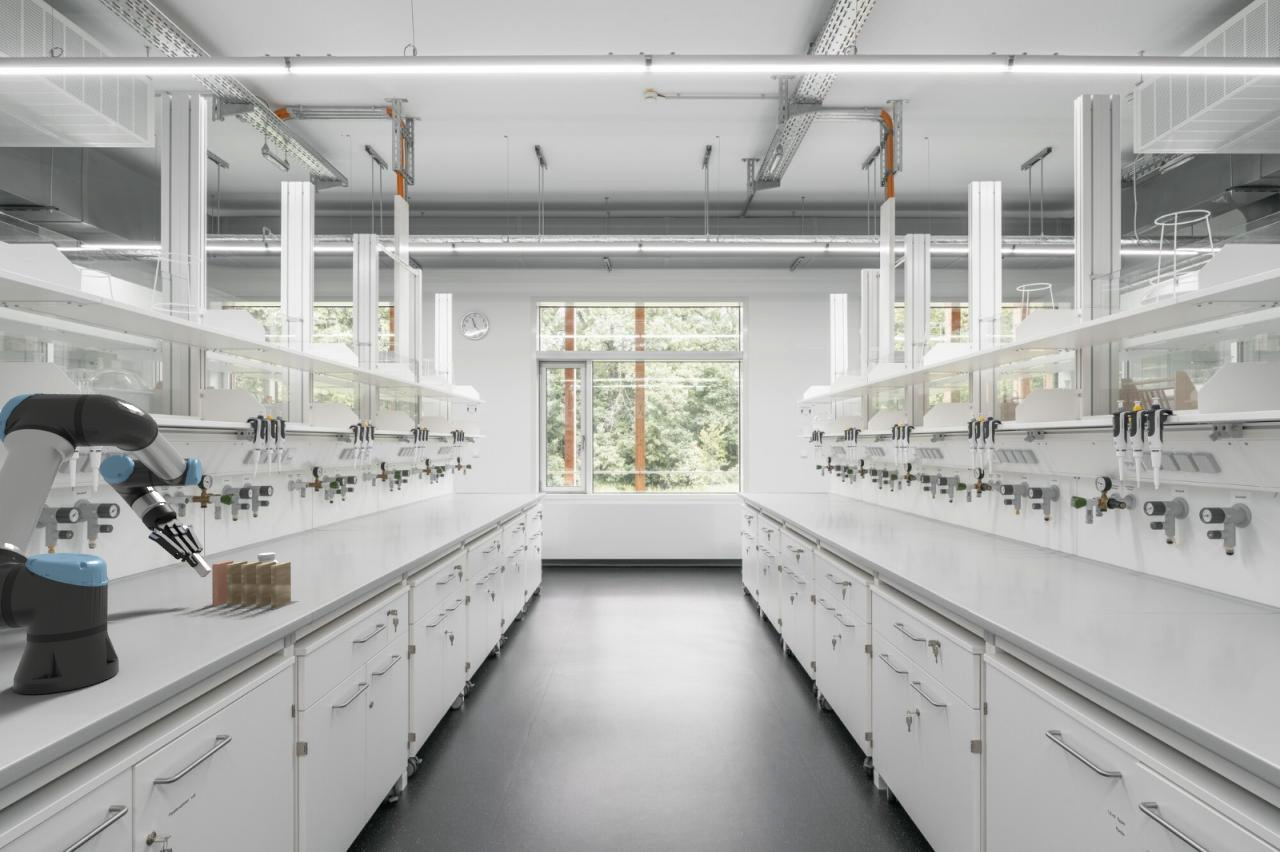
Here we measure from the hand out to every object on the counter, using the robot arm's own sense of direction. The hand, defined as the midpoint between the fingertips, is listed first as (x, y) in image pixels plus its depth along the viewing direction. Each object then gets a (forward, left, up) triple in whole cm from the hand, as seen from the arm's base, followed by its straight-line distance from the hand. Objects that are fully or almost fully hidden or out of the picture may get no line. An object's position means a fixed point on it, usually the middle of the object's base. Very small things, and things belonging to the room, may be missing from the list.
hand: (206, 573), depth 189 cm
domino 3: (+4, -14, -8) cm, 16 cm away
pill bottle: (+17, 0, -8) cm, 19 cm away
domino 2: (+3, -9, -8) cm, 13 cm away
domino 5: (+7, -22, -8) cm, 25 cm away
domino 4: (+6, -18, -8) cm, 20 cm away
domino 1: (+2, -5, -8) cm, 9 cm away
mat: (+4, -14, -8) cm, 16 cm away
